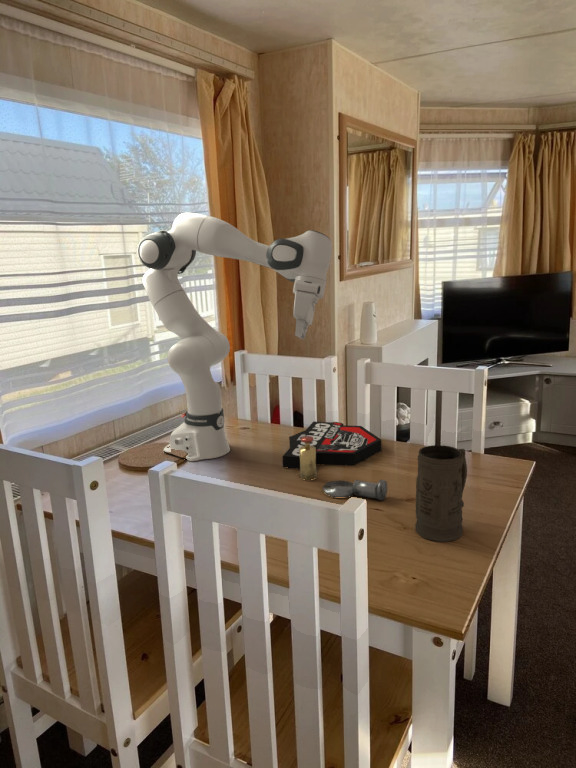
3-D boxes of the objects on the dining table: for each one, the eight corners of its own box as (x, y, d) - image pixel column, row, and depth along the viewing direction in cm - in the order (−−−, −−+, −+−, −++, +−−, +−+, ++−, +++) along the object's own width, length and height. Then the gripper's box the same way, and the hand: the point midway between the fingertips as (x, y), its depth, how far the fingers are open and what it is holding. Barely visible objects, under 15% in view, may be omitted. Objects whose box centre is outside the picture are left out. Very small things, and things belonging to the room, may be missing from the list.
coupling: (317, 495, 155) (317, 477, 153) (331, 482, 162) (331, 465, 161) (378, 506, 147) (378, 487, 145) (389, 492, 154) (389, 474, 153)
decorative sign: (278, 470, 174) (378, 474, 167) (277, 457, 173) (378, 460, 166) (298, 432, 206) (383, 434, 200) (298, 421, 205) (383, 422, 199)
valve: (297, 479, 165) (296, 439, 162) (305, 473, 169) (303, 434, 166) (312, 481, 163) (310, 441, 160) (319, 475, 167) (317, 436, 164)
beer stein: (448, 548, 126) (454, 461, 122) (405, 534, 133) (408, 451, 129) (477, 525, 137) (483, 445, 133) (435, 513, 144) (440, 436, 140)
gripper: (301, 293, 173) (292, 338, 174) (294, 281, 153) (284, 333, 153) (322, 296, 172) (313, 342, 173) (317, 285, 152) (307, 337, 152)
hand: (299, 337), depth 163 cm, fingers open, 8 cm apart
